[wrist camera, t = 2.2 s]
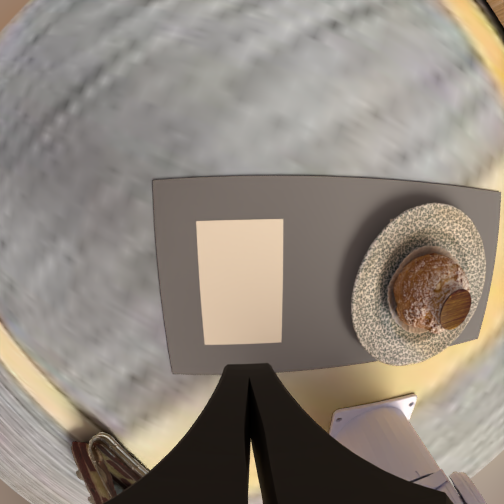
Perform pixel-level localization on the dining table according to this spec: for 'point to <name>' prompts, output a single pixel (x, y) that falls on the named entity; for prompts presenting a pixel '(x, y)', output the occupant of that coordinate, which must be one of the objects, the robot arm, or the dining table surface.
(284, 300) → the label panel
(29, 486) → the dining table surface
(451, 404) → the dining table surface
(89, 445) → the chocolate cake
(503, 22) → the hardback book
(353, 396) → the dining table surface
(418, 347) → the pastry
